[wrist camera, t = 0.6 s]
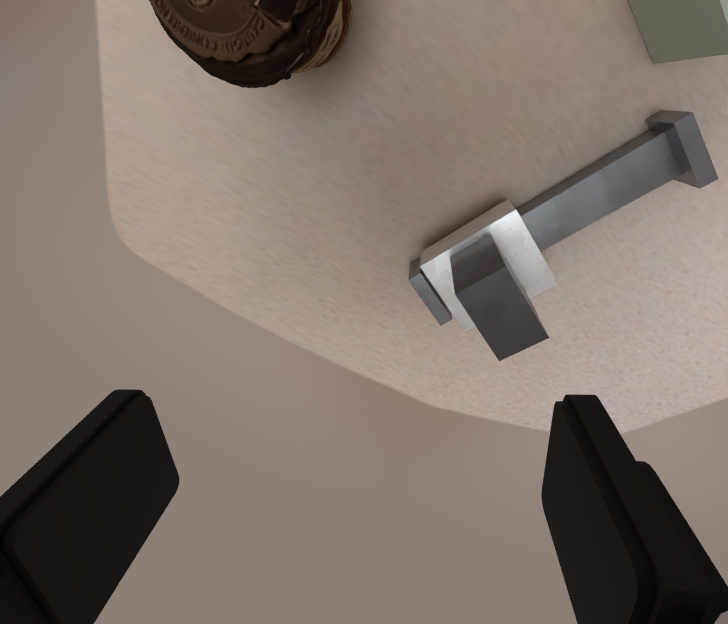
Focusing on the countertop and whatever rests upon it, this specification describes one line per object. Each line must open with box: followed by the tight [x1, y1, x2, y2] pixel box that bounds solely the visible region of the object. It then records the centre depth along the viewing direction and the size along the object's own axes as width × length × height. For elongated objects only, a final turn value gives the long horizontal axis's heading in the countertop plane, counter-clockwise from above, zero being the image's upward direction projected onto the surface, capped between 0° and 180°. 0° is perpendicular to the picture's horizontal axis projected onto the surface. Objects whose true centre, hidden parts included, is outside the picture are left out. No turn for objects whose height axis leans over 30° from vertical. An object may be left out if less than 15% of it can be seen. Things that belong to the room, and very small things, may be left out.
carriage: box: [420, 199, 558, 361], centre depth 28 cm, size 7×6×10 cm
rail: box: [409, 110, 718, 326], centre depth 30 cm, size 19×4×4 cm, turn 126°
